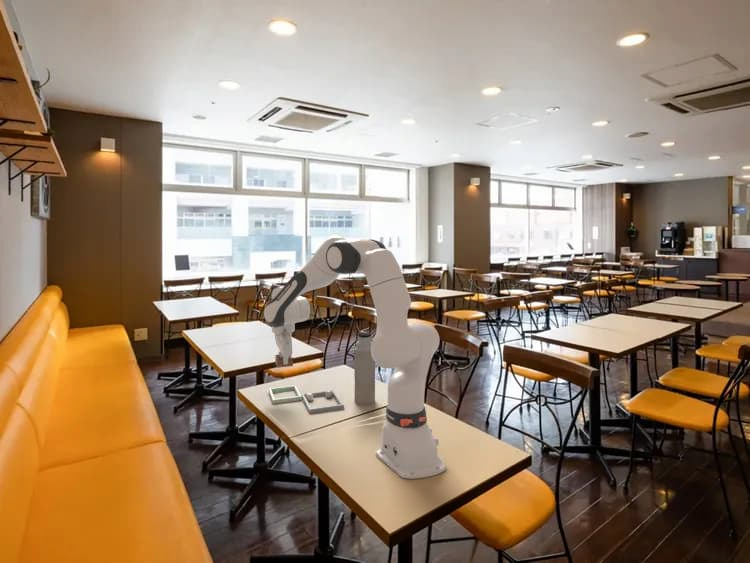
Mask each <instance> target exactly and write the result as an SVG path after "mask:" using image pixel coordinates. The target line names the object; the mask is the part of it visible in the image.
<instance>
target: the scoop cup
mask: <svg viewBox="0 0 750 563" xmlns="http://www.w3.org/2000/svg"><path fill="white" fill-rule="evenodd" d="M292 355H293V354H292ZM292 355H291V356H289V358H288V364H283V358H279V354H275V355H274V356H275V357H274V358H275V361H274V362H275V365H276V367H277V369H278V368H280V369H281V368H287V367H294V357H293V356H292Z"/></svg>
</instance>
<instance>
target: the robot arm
mask: <svg viewBox="0 0 750 563" xmlns="http://www.w3.org/2000/svg"><path fill="white" fill-rule="evenodd" d="M350 274H363V275H364V277H365V279H366V281H367V285H368V288H369V291H370V295H371V297H372V301H373V302H372V303H373V306H374V309H375V315H376V331H375V336H374V338H373V340H371V341H372V344H371V355H372V358H373V360H374V361H375V365H377V366H378V367H380V368H382V369H394V371H393V372H392V374H391V375H390V377H389V379H388V382H387V405H386V408H385V418H386V421H385V422H384V424H383V425H382V427H381V434H380V446H379V447H380V448H379V449H377V450H376V452H375V453H376V454H375V456H376V457H377V458H378V459H379V460H380V461H382V462H383V463H384V464H386V465H387V466H388V467H389V468H390V469H391V470H393V471H394V472H395V473H396V474H397V475H398V476H400V478H403V479H423V478H429V477H432V476H435V475H439V474H441V473H443V472H445V470H446V469H447V466H446V463H445V462H444V460H443V458H442V457H441V455H440V452H439V451H438V446H439V445H440V442H439V438H438V437H434V436H433V429H432V428H431V427H430V426H429V425H428V416H427V411H426V407H425V389H426V388H425V386H426V379H427V374H428V372H429V368H430V365H431V362H432V359H433V356H434V354H435V352H436V351H437V350H438V348H439V346H440V341H441V340H440V335H439V332H438V330H437V329H436V328H435V326H433V325H432V324H429V323H422V322H420V323H419V322H416V323H413V324H409V322H408V312H409V309H410V307H412V306H411V305H412V299H411V295H410V293H409V289H408V287H407V284H406V281H405V277H404V275H403V272H402V270H401V267H400V264H399V263H398V260H397V258H395V255H394V254H393V252H392V251H391V250H389V249H388V248H387V247H386V246H385V244H383V243H382V242H381V241H379V240H376V239H360V238H349V239H346V238H344V237H342V236H340V235H331V236H329V237H328V238H327V239H326V240H325V241H324V242H323V243H322V244H321V245H320V246H319V248H318V249H317V250H316V252H315V253H314V255H313V256H312V257H311V258H310V260H308V262H307V263H306V264H305V265H304V266H303V267H302V268H301V269H300V270H299V271H297V272H296V273H294V274H293V276H292V277H291V278H290V279H289V280H288V281H287V282H286V284H284V286H279V287H276V288H275V287H274V289H273V290H272V292H271V299H270V300H268V301H267V302H266V304H265V306H264V309H263V312H262V314H263V319H264V321H265V322H266V323H267V324H268V325H269V326H271V333H274V340H275V343H276V344H275V345H277V346H276V347H278V349H279V352H281V353H282V355H283V364H288V357H289V356H291V355H293V340H292V333H294V332H295V331H296V330H295V329H296V328H295V326H296V325H295V324H297V323H301V322H305V321H308V320H309V319H310V317H311V316H312V304H311V302H310V300H309V299H308V298H307V297H305V296H301V295H303V294H305V293H307V292H311V291H313V290H317V289H321V288H326V287H327V286H330V285H331V284H332V283H333V282H334V281H336V279H337V278H338V277H339V276H340V275H350Z"/></svg>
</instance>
